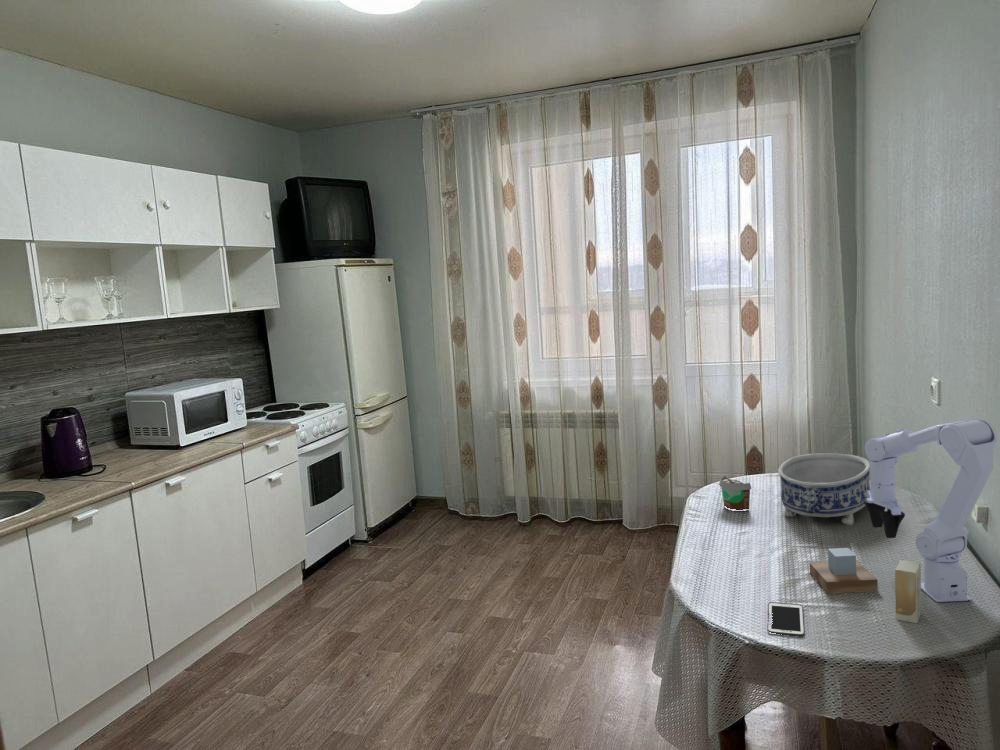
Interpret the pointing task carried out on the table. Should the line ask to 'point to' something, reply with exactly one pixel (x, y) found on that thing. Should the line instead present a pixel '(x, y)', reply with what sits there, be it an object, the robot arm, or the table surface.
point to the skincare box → (908, 591)
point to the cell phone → (786, 619)
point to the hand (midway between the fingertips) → (884, 532)
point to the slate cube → (842, 561)
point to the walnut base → (843, 579)
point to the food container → (735, 493)
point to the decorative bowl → (824, 485)
